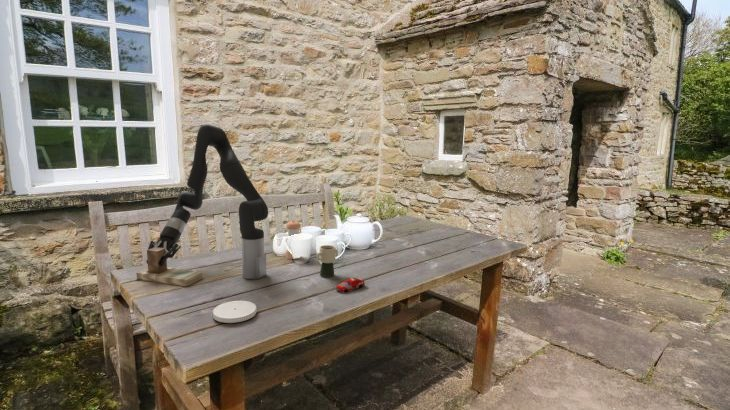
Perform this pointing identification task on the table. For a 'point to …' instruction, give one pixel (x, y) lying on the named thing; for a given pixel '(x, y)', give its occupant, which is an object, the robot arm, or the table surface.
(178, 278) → the puzzle board
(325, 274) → the character mug
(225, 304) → the plastic lid
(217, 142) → the robot arm
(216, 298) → the table surface
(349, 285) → the race car
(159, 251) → the walnut block
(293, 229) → the pepper shaker
